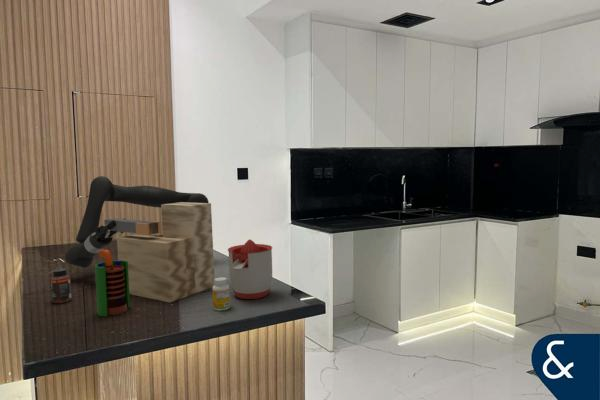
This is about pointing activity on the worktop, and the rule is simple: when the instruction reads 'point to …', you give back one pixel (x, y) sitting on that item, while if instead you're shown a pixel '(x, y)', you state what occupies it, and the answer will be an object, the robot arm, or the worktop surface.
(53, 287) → the supplement bottle
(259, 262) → the citrus juicer
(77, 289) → the worktop surface
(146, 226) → the grey and tan bar
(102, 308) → the motor
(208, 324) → the worktop surface
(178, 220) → the stand
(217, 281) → the supplement bottle
